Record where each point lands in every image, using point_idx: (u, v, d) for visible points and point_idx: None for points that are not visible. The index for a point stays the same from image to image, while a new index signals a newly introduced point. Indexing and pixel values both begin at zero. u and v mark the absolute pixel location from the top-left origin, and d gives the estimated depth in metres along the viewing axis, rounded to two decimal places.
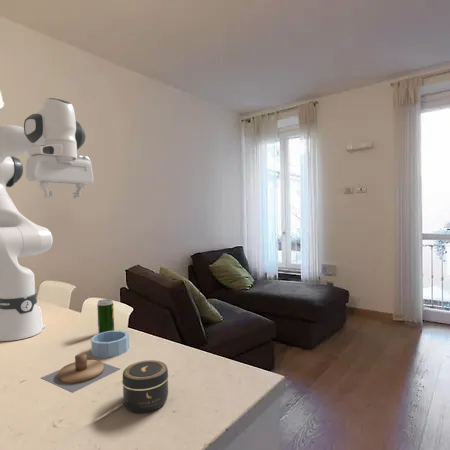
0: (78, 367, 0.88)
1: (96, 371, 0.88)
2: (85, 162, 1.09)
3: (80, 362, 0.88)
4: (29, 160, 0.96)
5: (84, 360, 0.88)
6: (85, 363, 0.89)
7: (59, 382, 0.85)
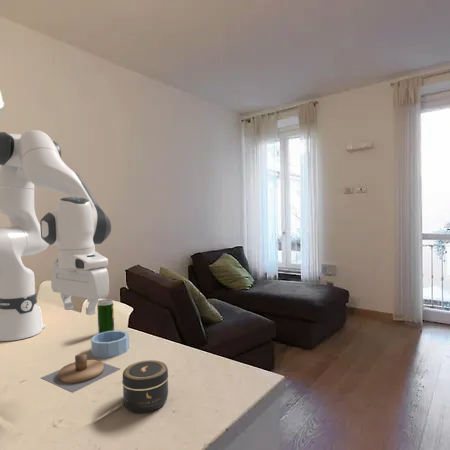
0: (78, 367, 0.88)
1: (96, 371, 0.88)
2: None
3: (80, 362, 0.88)
4: (99, 275, 0.83)
5: (84, 360, 0.88)
6: (85, 363, 0.89)
7: (59, 382, 0.85)
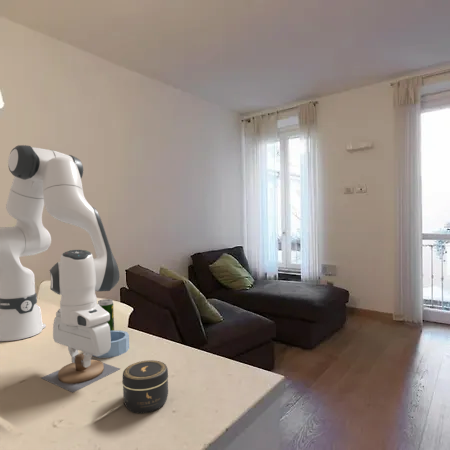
0: (78, 367, 0.88)
1: (96, 371, 0.88)
2: None
3: (80, 362, 0.88)
4: (101, 332, 0.83)
5: None
6: None
7: (59, 382, 0.85)
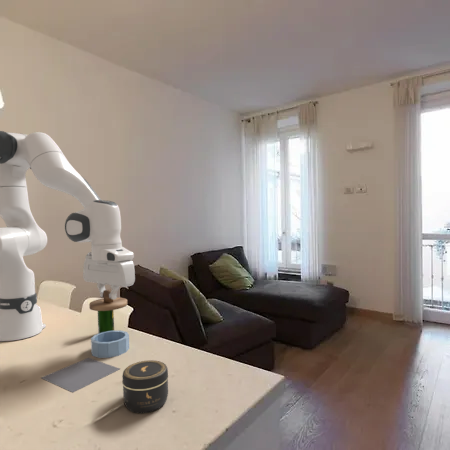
0: (106, 299, 1.02)
1: (122, 303, 1.02)
2: None
3: (108, 295, 1.02)
4: (127, 266, 0.98)
5: None
6: None
7: (59, 382, 0.85)
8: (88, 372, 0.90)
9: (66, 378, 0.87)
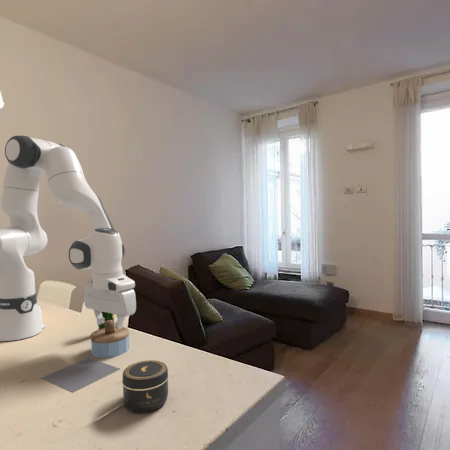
0: (107, 331, 1.03)
1: (123, 334, 1.02)
2: None
3: (109, 326, 1.03)
4: (128, 296, 0.98)
5: (112, 324, 1.03)
6: (113, 327, 1.04)
7: (59, 382, 0.85)
8: (88, 372, 0.90)
9: (66, 378, 0.87)
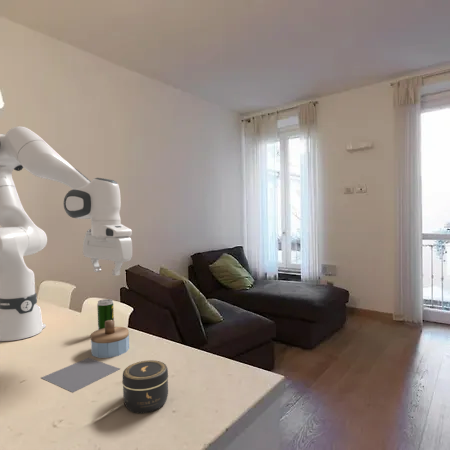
0: (107, 331, 1.03)
1: (123, 334, 1.02)
2: None
3: (109, 326, 1.03)
4: (125, 242, 1.01)
5: (112, 324, 1.03)
6: (113, 327, 1.04)
7: (59, 382, 0.85)
8: (88, 372, 0.90)
9: (66, 378, 0.87)
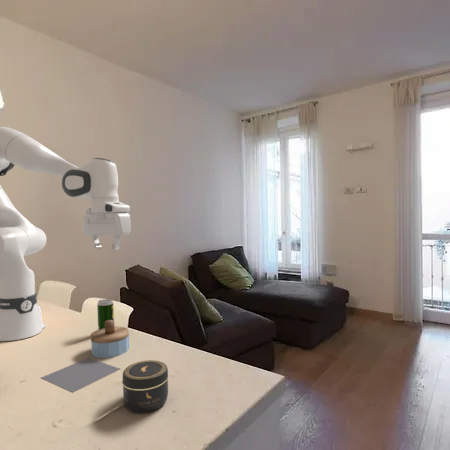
0: (107, 331, 1.03)
1: (123, 334, 1.02)
2: None
3: (109, 326, 1.03)
4: (123, 217, 1.07)
5: (112, 324, 1.03)
6: (113, 327, 1.04)
7: (59, 382, 0.85)
8: (88, 372, 0.90)
9: (66, 378, 0.87)
